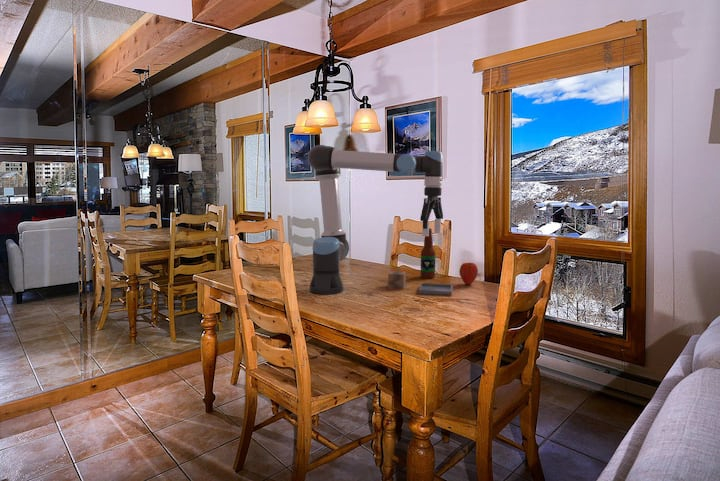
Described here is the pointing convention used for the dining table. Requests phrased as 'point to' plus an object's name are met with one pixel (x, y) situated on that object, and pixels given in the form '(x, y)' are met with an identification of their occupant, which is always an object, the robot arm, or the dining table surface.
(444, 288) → the slate tray
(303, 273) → the dining table surface
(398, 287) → the walnut cube
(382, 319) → the dining table surface
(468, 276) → the apple
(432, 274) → the bottle
